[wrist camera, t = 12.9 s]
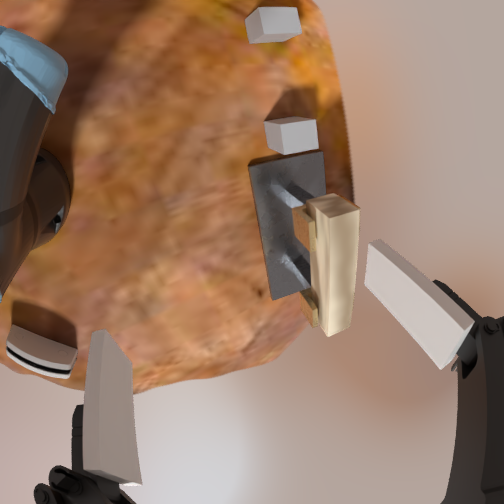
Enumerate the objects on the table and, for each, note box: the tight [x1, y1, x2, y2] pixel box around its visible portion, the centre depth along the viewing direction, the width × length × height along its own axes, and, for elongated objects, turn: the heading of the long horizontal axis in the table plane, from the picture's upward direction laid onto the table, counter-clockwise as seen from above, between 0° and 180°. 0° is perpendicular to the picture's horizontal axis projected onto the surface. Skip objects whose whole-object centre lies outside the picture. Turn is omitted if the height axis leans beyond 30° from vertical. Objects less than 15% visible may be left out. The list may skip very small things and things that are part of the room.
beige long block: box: [306, 193, 360, 337], centre depth 36 cm, size 4×20×6 cm, turn 10°
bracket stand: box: [248, 150, 360, 328], centre depth 41 cm, size 12×26×14 cm, turn 10°
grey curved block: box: [6, 324, 78, 379], centre depth 38 cm, size 17×5×10 cm, turn 57°
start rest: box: [245, 7, 319, 155], centre depth 30 cm, size 5×20×6 cm, turn 10°
